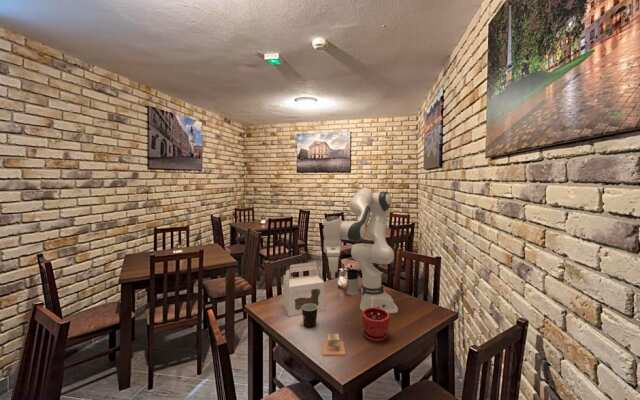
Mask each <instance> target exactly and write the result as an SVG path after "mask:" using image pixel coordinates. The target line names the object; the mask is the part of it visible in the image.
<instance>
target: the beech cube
mask: <svg viewBox="0 0 640 400" xmlns="http://www.w3.org/2000/svg"><path fill="white" fill-rule="evenodd" d="M339 335H340V334H339V333H327V341H328V351H339V341H340V336H339Z"/></svg>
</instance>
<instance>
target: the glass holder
mask: <svg viewBox="0 0 640 400" xmlns="http://www.w3.org/2000/svg"><path fill="white" fill-rule="evenodd" d="M346 272H347V276H346V274H345V273H344V272H340V273H339V274H338V276H340V275H341V274H343V276H344V279H345V280H346V283H347V284H346V286H345V284H343V283H342V282H341V280H340V278H338V280H339V283H340V284H341V285H342V286H343V287H344V288H346V293H347V294H348V295H351V296H352V295H353V296H354V295H355V296H357V295H359V294H360V291H359V289H360V288H359V287H360V286H359V284H360V281H359V280H360V279H359V278H360V276H359V275H360V274H359V270H358V269H354V268H353V269H352V268H351V269H347V271H346ZM346 277H347V278H346Z"/></svg>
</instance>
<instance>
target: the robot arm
mask: <svg viewBox="0 0 640 400" xmlns="http://www.w3.org/2000/svg"><path fill="white" fill-rule="evenodd" d="M391 205H392V196H391V195H390V193H389V192H387V191H375V192H373V191H372V190H371V189H370V188H367V187H363V188H361V189H359V190H358V191H356V193H355V194H354V195H353V196H352V198H351V199H350V201H349V205H348V206H349V209H350V211H351V212H352V213H353V214H354V215H355V216H358V220H357V221H345V220H341V218H340V217H339V216H337V215H331V216H330V215H329V216H327V217H326V218H325V220H324V221H323V222H324V223H323V238H324V240H323V253H325V255H326V257H327V261H328V268H329V269H328V270H329V272H330V279H335V277H336V273H337V272H338V268H339V260H340V259H339V258H340V257H339V256H340V255H341V252H342V241H341V240H343V241H344V240H345V241H351V242H355V244H354V245H352V247H351V249H350V255H351V257H352V259H353V260H354V261H355V262H356V263H357V264H358V266H359V268H360V270H361V274H362V277H361V278H362V280H361V281H362V284H361V298H360V299H361V300H360V305H359V309H360V310H361V311H362V312H363V311H364V310H365V309H367V308H380V309H383V310H385V311H386V312H388V314H389V315H390V314H396V313H398V312H399V309H398V305H397V304H396V303H395V302H394V299H393V297H392V296H391V295H390V294H389V293H388V292H387V288H386V287H385V286H384V285H383V284H382V273H381V270H379V269H378V268H376V267H375V266H374V264H378V265H390V264H391V263H393V261H394V258H395V251H394V250H393V248H392V247H391V246H390V245H389V244H388V243H387V239H386V232H387V225H388V214H387V211H388V210H389V208H390V207H391ZM365 234H366V236H367V237H368V239H370V240H371V241H373V242H374V243H373V244H372V243H364V242H361V241H362V240H363V239H364V237H365ZM359 242H361V243H359ZM371 314H372V312H371ZM378 315H380V314H379V313H378Z"/></svg>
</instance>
